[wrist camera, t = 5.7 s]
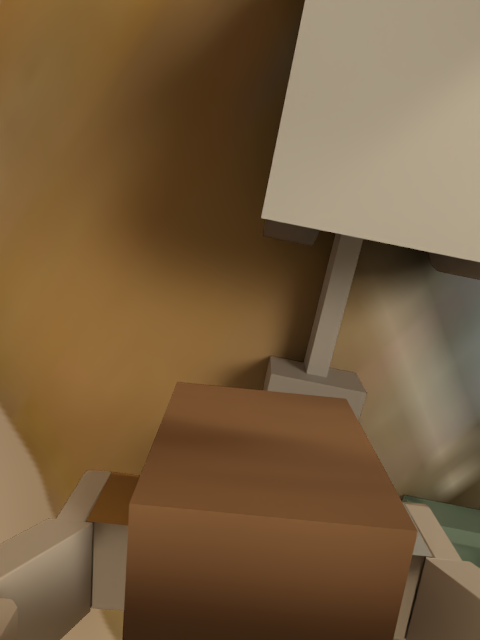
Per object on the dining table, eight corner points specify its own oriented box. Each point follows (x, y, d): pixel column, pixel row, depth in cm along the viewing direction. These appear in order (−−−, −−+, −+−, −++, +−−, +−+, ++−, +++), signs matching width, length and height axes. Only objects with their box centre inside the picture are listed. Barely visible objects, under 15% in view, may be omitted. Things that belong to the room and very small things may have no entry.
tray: (521, 518, 30) (544, 546, 27) (459, 664, 33) (475, 701, 31) (404, 495, 30) (416, 520, 27) (353, 643, 33) (360, 678, 31)
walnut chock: (321, 542, 12) (368, 746, 7) (166, 527, 11) (118, 723, 7) (346, 398, 11) (417, 531, 6) (177, 382, 10) (128, 504, 6)
